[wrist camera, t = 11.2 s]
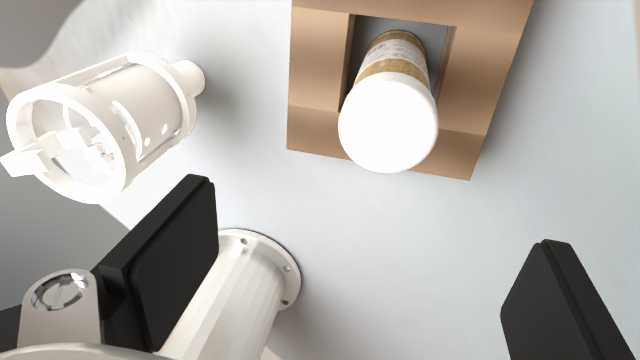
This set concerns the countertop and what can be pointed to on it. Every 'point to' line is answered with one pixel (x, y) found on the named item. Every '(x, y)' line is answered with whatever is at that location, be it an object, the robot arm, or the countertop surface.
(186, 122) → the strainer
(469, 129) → the walnut socket block
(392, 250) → the countertop surface
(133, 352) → the robot arm
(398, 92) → the sprinkles bottle
